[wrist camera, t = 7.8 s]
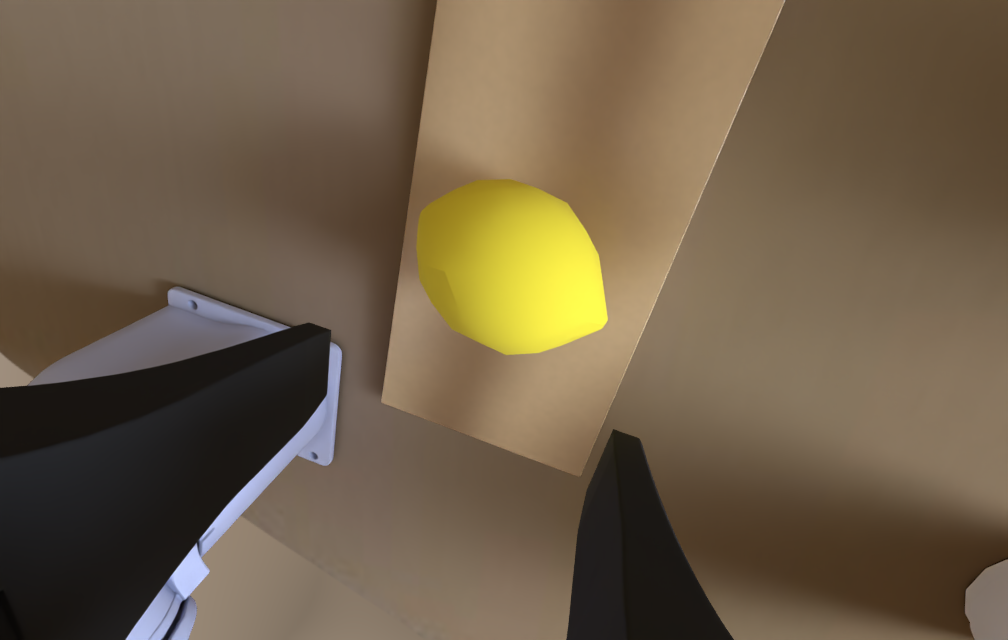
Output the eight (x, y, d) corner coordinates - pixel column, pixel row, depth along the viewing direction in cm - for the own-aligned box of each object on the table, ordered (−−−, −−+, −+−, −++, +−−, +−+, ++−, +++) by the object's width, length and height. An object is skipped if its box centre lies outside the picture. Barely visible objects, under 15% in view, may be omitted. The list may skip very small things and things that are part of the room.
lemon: (422, 251, 20) (352, 307, 16) (482, 126, 18) (419, 149, 13) (570, 345, 20) (545, 428, 16) (654, 235, 18) (652, 297, 13)
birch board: (388, 393, 25) (380, 403, 24) (463, -119, 15) (453, -127, 15) (582, 466, 24) (579, 477, 23) (798, -41, 14) (805, -46, 13)
